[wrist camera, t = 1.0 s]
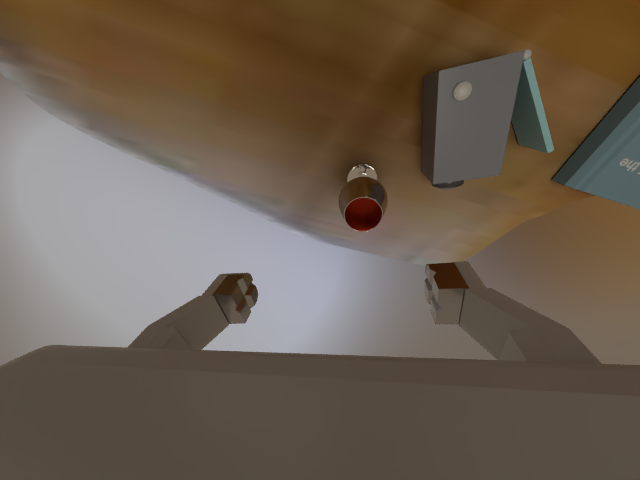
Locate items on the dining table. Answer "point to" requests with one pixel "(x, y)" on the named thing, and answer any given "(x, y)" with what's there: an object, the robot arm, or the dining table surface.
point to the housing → (468, 119)
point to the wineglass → (363, 199)
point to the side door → (530, 111)
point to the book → (610, 155)
